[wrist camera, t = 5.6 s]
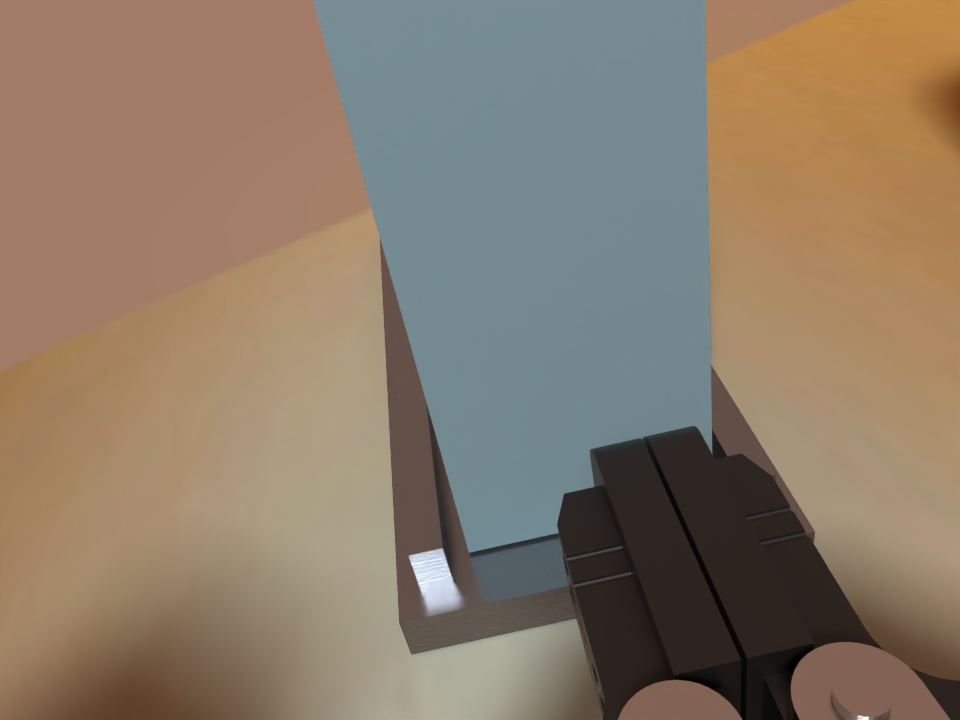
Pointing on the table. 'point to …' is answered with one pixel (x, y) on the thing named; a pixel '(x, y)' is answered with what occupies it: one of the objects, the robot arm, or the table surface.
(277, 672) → the table surface
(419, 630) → the rail plate
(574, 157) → the grey blue block
